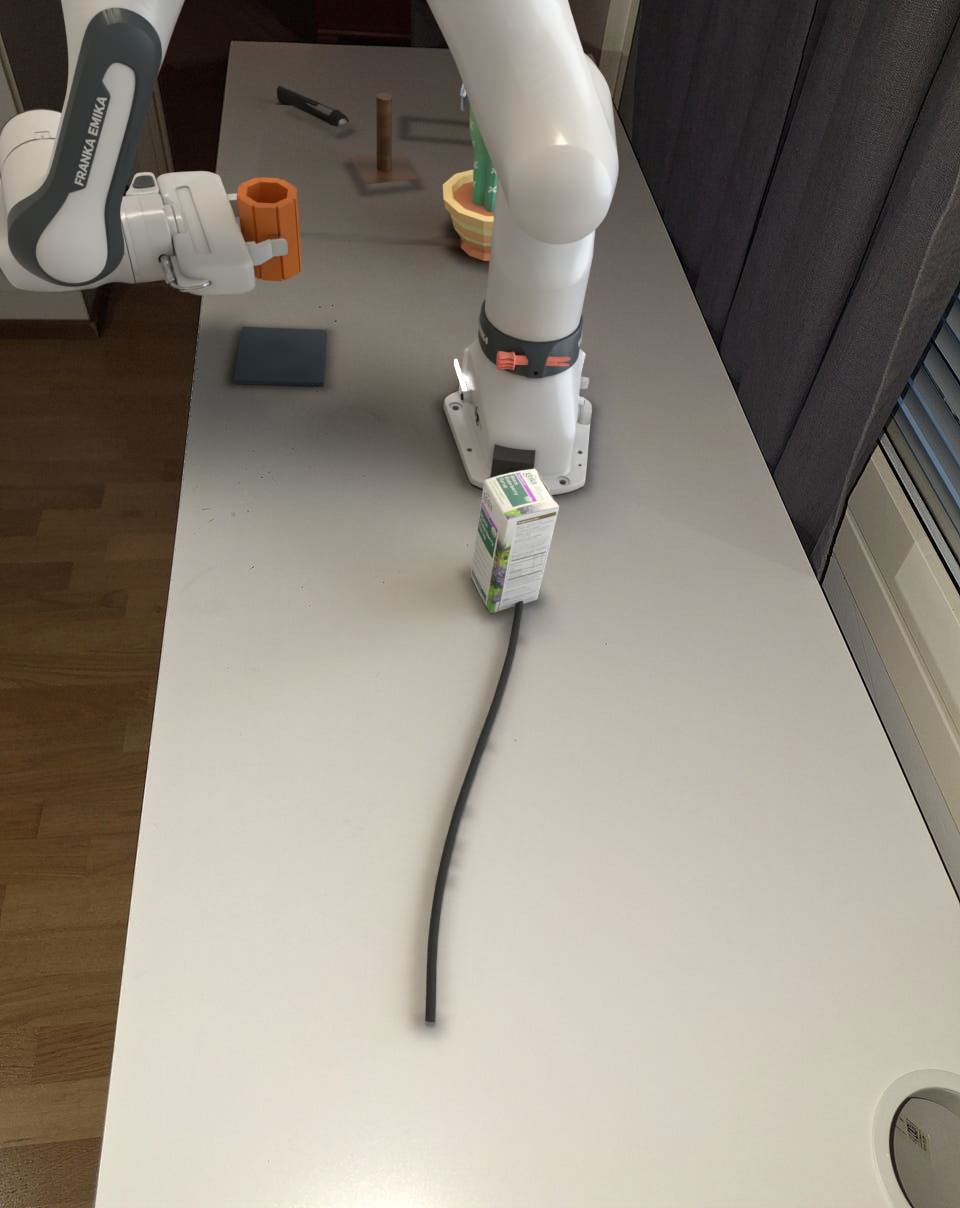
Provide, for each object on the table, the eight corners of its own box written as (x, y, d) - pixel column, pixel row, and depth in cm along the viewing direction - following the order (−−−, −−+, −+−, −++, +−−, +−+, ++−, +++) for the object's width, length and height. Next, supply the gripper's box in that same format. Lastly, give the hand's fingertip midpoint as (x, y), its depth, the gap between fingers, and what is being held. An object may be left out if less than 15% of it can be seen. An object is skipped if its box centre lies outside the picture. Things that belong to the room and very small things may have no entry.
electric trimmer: (288, 100, 161) (286, 81, 159) (352, 130, 156) (352, 110, 154) (272, 106, 159) (271, 87, 157) (337, 137, 154) (336, 117, 152)
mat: (323, 386, 114) (323, 382, 113) (234, 383, 113) (233, 379, 112) (326, 333, 121) (326, 329, 120) (242, 330, 119) (242, 326, 119)
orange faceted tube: (299, 282, 105) (294, 209, 98) (243, 279, 105) (234, 205, 98) (302, 251, 109) (298, 179, 102) (248, 248, 109) (240, 175, 101)
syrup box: (468, 575, 97) (480, 478, 85) (518, 561, 99) (535, 464, 87) (489, 615, 94) (504, 520, 82) (540, 600, 96) (561, 505, 84)
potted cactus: (519, 214, 144) (541, 41, 124) (554, 268, 135) (583, 91, 115) (426, 222, 140) (433, 45, 120) (456, 278, 131) (469, 97, 111)
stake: (418, 187, 146) (421, 107, 136) (365, 193, 143) (364, 111, 134) (402, 160, 151) (403, 81, 141) (349, 165, 148) (347, 84, 139)
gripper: (162, 264, 91) (297, 248, 95) (134, 164, 102) (256, 154, 106) (173, 317, 96) (301, 301, 100) (145, 217, 107) (261, 205, 111)
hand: (278, 224), depth 103 cm, fingers closed on orange faceted tube, 7 cm apart
